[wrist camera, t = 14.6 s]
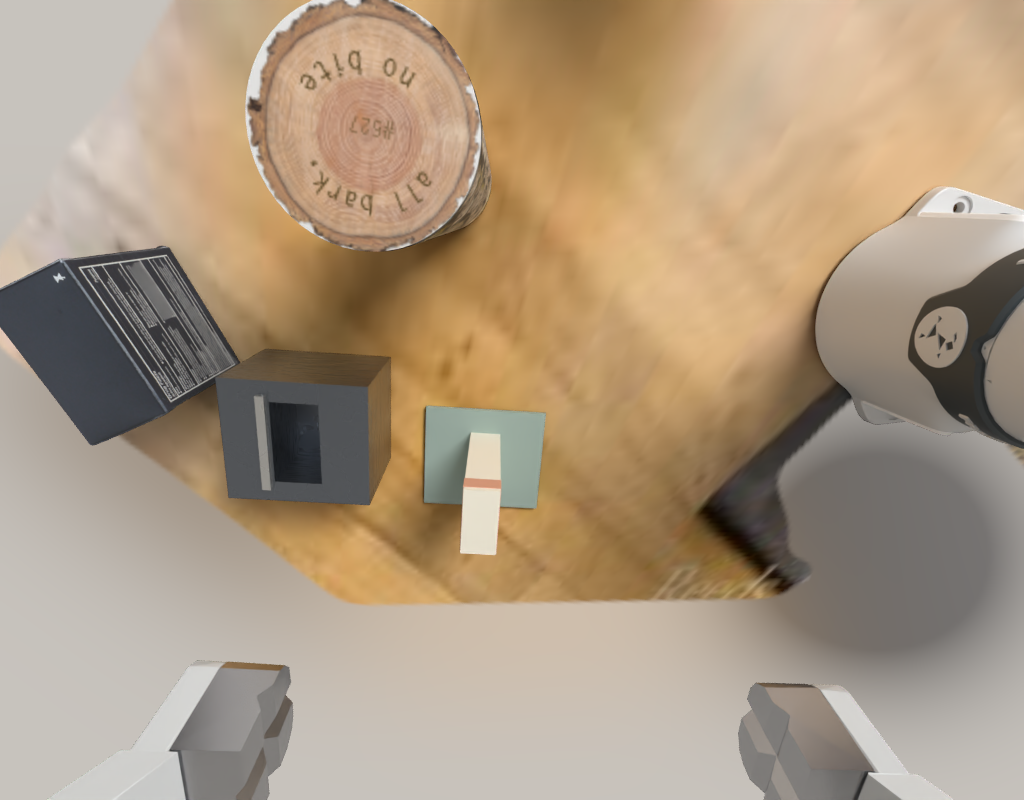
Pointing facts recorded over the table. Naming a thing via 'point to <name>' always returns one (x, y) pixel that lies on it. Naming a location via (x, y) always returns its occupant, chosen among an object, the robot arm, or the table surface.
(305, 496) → the dispenser
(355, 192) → the paper tube
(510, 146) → the table surface
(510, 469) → the mat
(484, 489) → the white block
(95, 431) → the small box
